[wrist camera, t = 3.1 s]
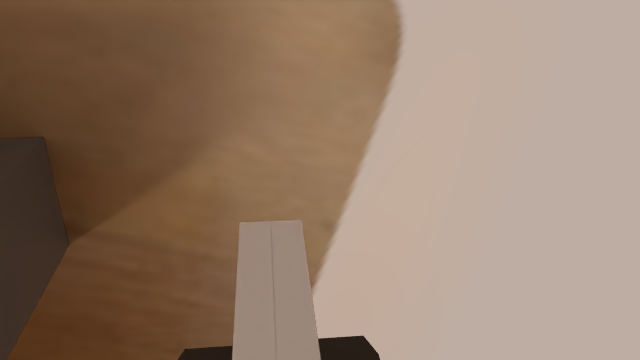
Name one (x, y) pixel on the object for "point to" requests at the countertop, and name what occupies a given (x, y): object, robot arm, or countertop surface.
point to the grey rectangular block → (26, 233)
